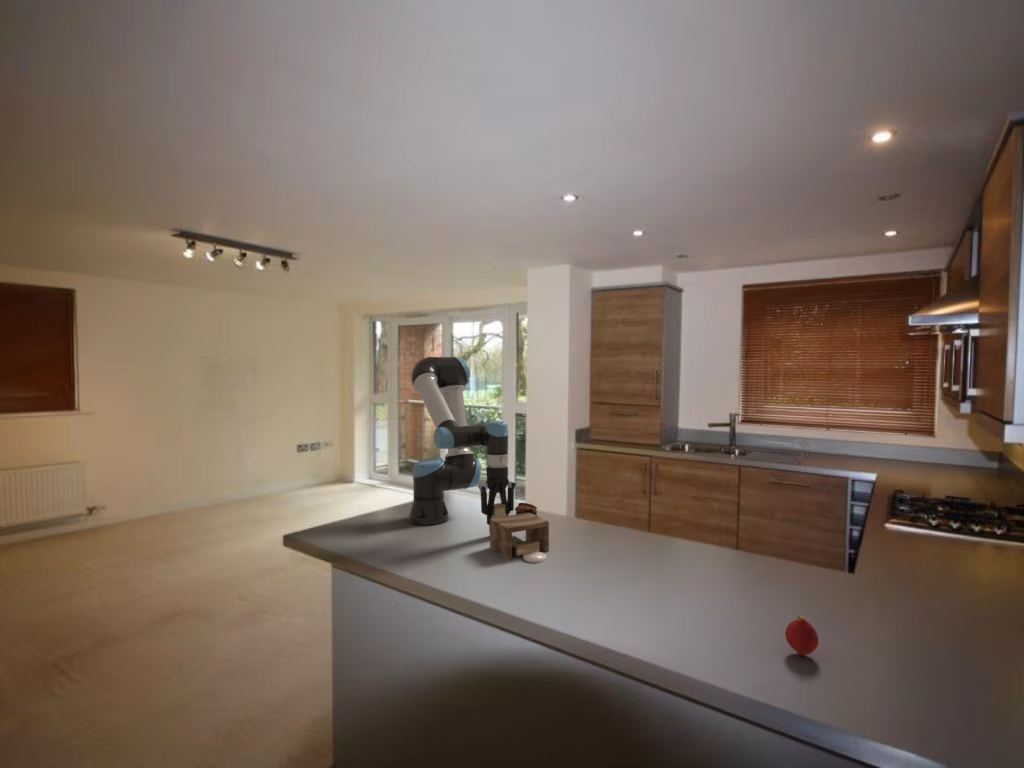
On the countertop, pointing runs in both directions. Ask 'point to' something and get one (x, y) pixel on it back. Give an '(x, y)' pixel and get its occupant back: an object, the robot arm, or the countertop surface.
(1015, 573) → the countertop surface
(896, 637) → the countertop surface
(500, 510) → the wooden mallet
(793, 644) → the onion
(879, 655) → the countertop surface
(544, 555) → the ceramic disc
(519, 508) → the pottery mug
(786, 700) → the countertop surface
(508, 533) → the walnut bench
